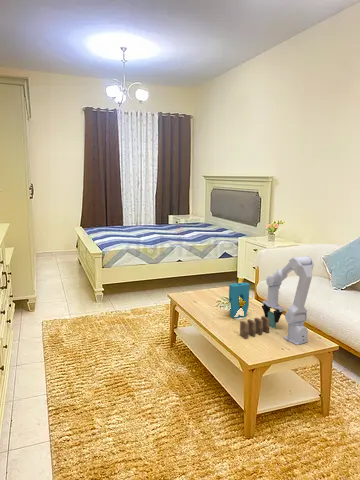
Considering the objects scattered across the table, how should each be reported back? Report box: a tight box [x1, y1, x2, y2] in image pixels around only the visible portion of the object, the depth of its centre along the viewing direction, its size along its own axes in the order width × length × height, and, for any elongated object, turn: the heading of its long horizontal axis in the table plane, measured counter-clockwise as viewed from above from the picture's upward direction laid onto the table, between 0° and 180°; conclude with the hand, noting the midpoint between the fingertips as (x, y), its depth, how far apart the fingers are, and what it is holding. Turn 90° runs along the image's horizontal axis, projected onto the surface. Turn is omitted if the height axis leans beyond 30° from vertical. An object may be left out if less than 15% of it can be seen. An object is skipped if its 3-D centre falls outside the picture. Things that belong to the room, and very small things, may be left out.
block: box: [228, 282, 251, 320], centre depth 220 cm, size 12×5×20 cm, turn 115°
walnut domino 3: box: [253, 317, 264, 336], centre depth 196 cm, size 5×2×8 cm, turn 29°
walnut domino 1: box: [239, 320, 249, 340], centre depth 191 cm, size 5×2×8 cm, turn 29°
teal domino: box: [268, 310, 277, 329], centre depth 206 cm, size 5×2×8 cm, turn 29°
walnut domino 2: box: [246, 318, 257, 338], centre depth 194 cm, size 5×2×8 cm, turn 29°
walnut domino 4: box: [260, 315, 270, 335], centre depth 198 cm, size 5×2×8 cm, turn 29°
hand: (271, 320), depth 206 cm, fingers open, 7 cm apart
